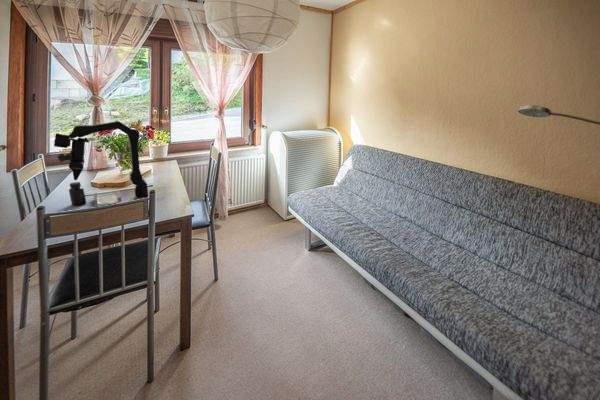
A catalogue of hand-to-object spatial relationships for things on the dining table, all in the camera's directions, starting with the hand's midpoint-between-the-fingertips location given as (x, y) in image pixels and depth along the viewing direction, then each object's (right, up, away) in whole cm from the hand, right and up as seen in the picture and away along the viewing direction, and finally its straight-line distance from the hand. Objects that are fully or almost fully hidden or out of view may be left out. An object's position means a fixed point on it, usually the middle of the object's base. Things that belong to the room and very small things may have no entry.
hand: (75, 178), depth 182 cm
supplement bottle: (-1, -14, +4) cm, 15 cm away
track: (+12, -12, +10) cm, 20 cm away
